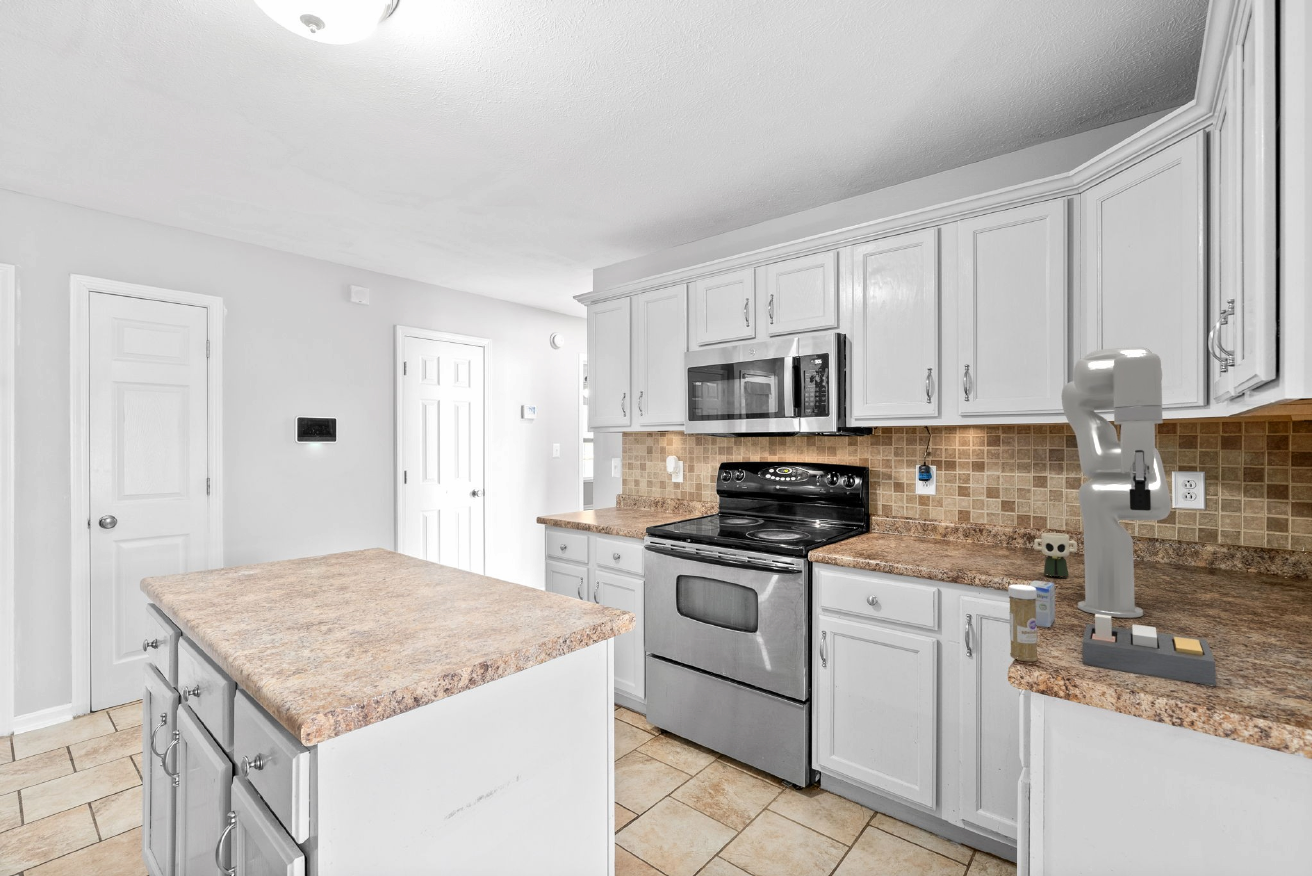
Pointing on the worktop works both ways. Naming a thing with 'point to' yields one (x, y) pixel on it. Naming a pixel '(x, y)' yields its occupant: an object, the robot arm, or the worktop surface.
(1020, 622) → the sprinkles bottle
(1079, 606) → the robot arm
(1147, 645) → the white button
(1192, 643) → the amber button
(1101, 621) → the slider lever
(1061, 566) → the character mug
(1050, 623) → the medicine box
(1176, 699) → the worktop surface
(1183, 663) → the control panel
